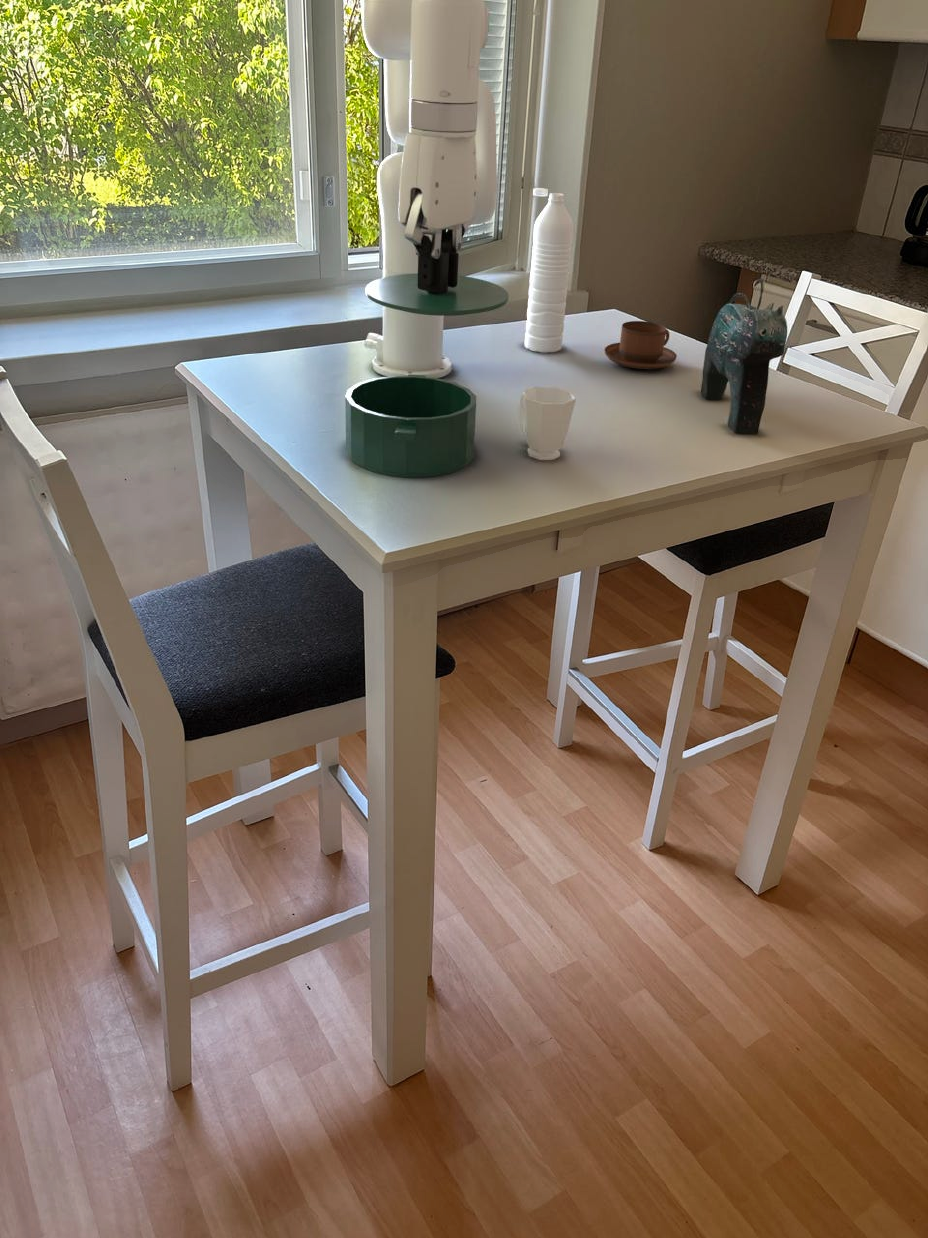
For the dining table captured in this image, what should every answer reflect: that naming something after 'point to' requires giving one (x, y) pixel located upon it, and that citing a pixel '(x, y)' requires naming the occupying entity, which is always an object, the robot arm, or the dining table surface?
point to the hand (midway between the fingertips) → (437, 286)
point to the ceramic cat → (743, 359)
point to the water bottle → (549, 275)
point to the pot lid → (437, 294)
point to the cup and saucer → (642, 346)
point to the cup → (545, 420)
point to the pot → (410, 425)
